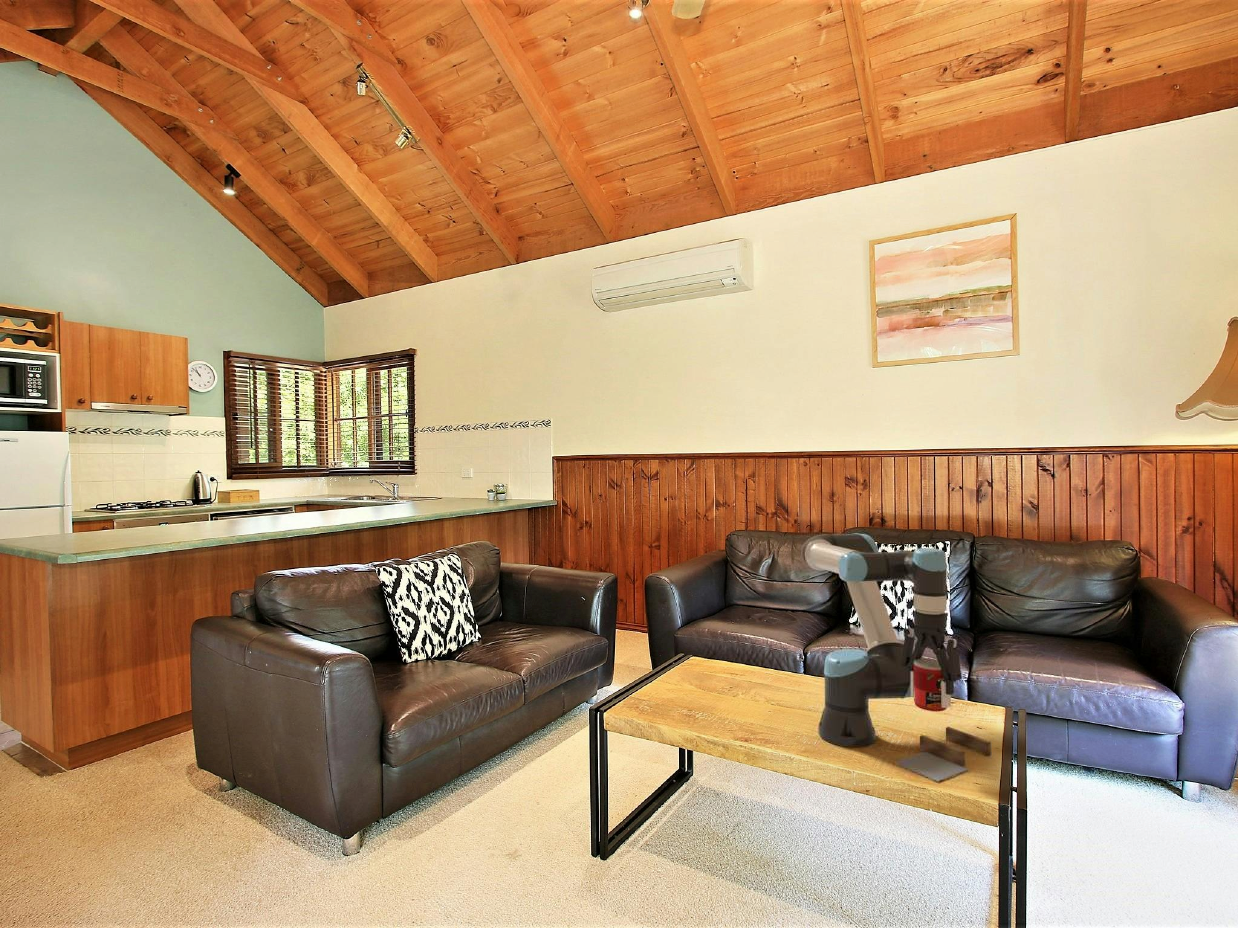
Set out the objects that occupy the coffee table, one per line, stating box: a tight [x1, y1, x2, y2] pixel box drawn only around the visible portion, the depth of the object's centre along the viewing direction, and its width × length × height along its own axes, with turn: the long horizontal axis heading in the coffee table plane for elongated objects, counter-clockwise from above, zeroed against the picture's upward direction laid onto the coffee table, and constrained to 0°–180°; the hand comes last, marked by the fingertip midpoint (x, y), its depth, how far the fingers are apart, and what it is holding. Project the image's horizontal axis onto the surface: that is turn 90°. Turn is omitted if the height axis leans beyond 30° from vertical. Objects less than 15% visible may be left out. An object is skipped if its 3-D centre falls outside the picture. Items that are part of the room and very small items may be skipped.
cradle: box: [919, 726, 992, 767], centre depth 178 cm, size 12×12×4 cm
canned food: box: [913, 657, 947, 713], centre depth 170 cm, size 8×8×11 cm
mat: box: [894, 751, 969, 783], centre depth 170 cm, size 12×12×1 cm
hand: (930, 701), depth 170 cm, fingers closed on canned food, 8 cm apart
